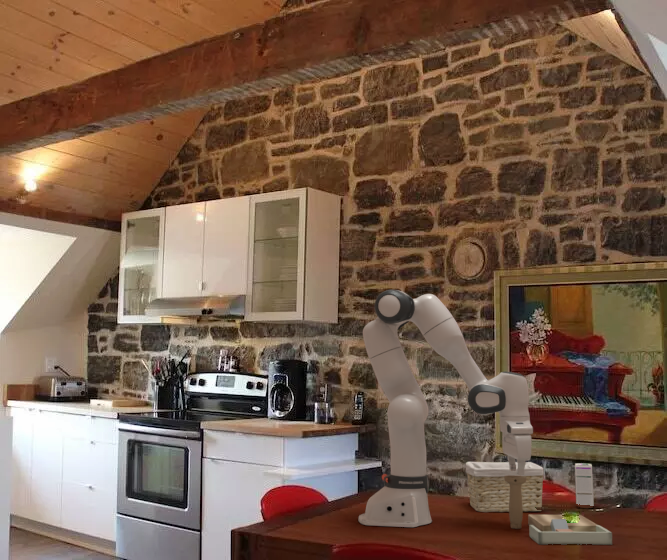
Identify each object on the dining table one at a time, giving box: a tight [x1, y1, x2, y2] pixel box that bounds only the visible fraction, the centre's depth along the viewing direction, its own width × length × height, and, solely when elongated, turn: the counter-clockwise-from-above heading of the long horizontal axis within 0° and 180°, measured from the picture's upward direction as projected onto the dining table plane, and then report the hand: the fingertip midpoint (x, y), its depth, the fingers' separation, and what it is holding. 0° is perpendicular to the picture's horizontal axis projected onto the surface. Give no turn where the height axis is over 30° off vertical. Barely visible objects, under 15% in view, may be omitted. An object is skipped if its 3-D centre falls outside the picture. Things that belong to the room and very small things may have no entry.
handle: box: [504, 475, 526, 530], centre depth 237 cm, size 5×6×15 cm
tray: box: [528, 524, 613, 546], centre depth 220 cm, size 20×10×3 cm, turn 91°
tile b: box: [550, 519, 569, 532], centre depth 224 cm, size 4×4×2 cm
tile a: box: [556, 529, 574, 532], centre depth 219 cm, size 4×4×2 cm
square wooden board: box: [527, 514, 598, 532], centre depth 234 cm, size 16×16×3 cm
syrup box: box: [574, 462, 595, 507], centre depth 271 cm, size 6×6×14 cm
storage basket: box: [465, 461, 545, 513], centre depth 268 cm, size 24×16×15 cm
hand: (516, 472), depth 238 cm, fingers open, 8 cm apart
